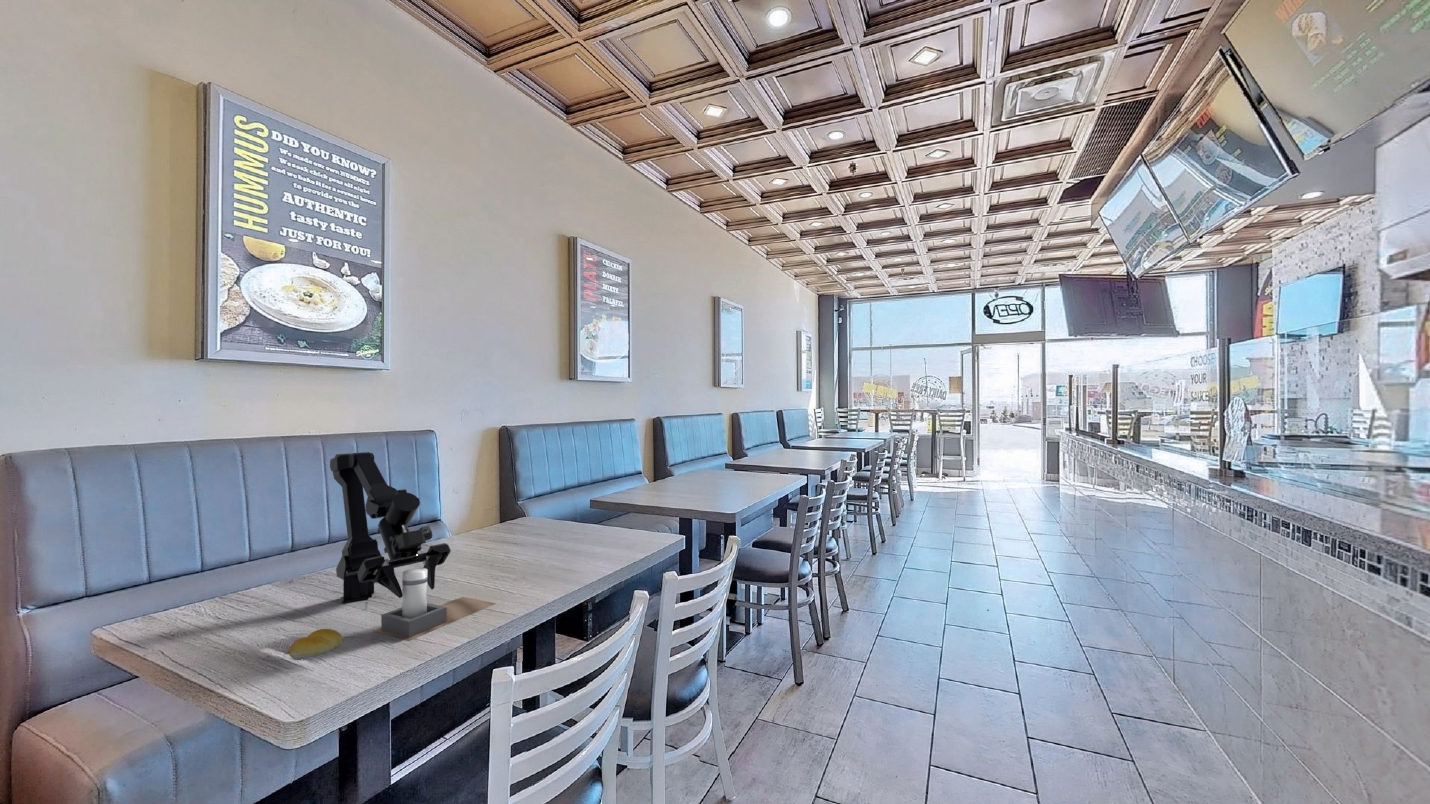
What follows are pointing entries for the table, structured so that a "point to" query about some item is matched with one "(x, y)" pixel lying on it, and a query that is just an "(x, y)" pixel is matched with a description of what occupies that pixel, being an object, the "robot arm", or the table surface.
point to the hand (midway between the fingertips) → (417, 592)
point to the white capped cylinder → (414, 592)
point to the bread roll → (315, 643)
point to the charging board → (451, 613)
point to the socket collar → (413, 621)
